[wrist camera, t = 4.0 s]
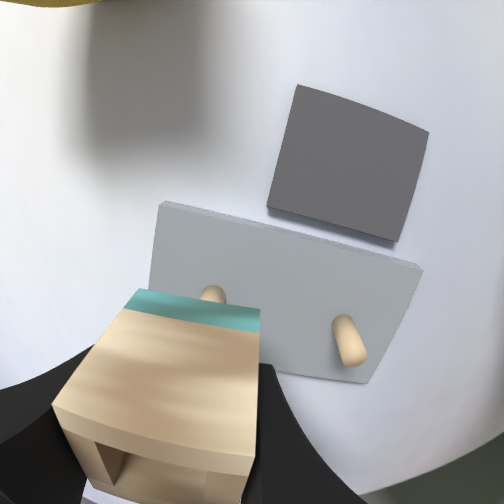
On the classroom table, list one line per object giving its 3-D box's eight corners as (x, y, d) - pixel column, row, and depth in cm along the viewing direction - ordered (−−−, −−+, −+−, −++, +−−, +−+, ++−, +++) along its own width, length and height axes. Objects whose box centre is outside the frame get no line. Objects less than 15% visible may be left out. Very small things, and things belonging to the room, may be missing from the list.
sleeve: (260, 308, 11) (255, 456, 5) (243, 395, 12) (232, 521, 6) (139, 288, 11) (51, 403, 5) (143, 376, 12) (93, 488, 6)
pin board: (416, 264, 16) (450, 295, 12) (364, 373, 18) (379, 417, 14) (165, 200, 15) (134, 218, 11) (150, 329, 18) (126, 370, 14)
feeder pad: (423, 132, 13) (429, 132, 13) (393, 238, 15) (397, 242, 15) (296, 86, 13) (297, 84, 12) (266, 203, 15) (266, 206, 14)
